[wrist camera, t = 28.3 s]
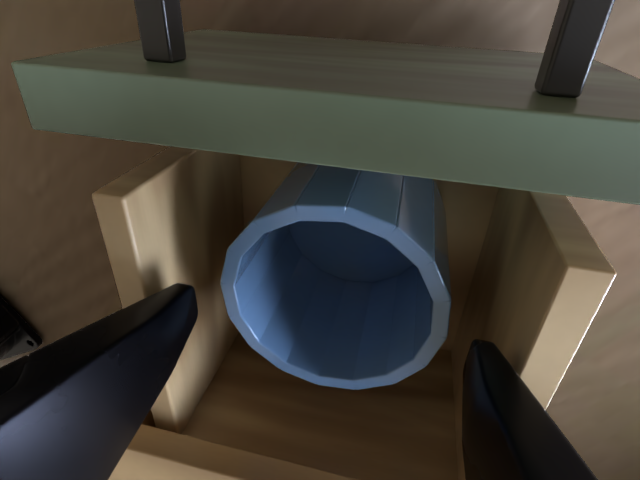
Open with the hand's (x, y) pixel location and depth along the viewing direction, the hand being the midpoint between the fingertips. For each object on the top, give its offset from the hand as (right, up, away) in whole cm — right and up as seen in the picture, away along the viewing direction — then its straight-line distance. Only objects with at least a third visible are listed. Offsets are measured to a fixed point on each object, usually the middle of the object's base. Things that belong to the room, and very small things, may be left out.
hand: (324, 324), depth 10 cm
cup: (+1, +3, +5) cm, 6 cm away
